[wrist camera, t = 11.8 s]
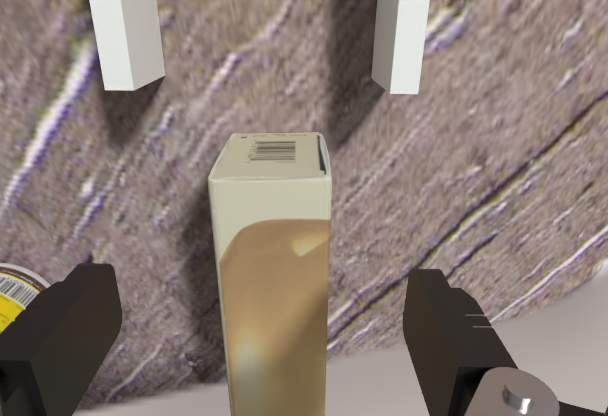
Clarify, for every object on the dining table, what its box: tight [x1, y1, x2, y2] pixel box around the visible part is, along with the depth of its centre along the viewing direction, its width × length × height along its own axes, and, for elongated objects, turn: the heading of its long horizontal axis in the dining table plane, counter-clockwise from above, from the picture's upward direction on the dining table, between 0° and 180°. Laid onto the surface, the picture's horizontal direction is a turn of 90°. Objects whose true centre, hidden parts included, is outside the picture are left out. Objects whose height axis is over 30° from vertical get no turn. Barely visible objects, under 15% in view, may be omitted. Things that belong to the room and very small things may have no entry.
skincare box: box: [208, 132, 332, 416], centre depth 19 cm, size 6×4×12 cm
